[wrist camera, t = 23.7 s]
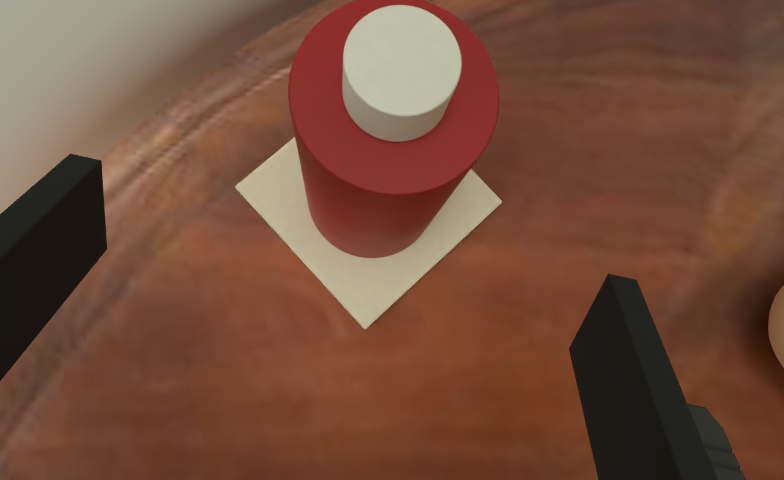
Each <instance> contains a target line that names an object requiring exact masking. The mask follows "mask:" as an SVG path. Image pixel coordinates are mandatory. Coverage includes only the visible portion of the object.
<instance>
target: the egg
mask: <svg viewBox="0 0 784 480" xmlns="http://www.w3.org/2000/svg"><path fill="white" fill-rule="evenodd" d="M768 334H769V339H770V342H771V345H772V348H773V351H774V353H775V355H776V356H777V358H778V360H779V361H780V363H781V365H782V367H783V368H784V285H783V286H782V287H781V289H780V290H779V292H778V293H777V294H776V296H775V298H774V301H773V303H772V306H771V309H770V312H769V324H768Z"/></svg>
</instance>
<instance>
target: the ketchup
mask: <svg viewBox="0 0 784 480" xmlns="http://www.w3.org/2000/svg"><path fill="white" fill-rule="evenodd" d="M288 99H289V106H290V113H291V118H292V123H293V128H294V134H295V139H296V144H297V149H298V155H299V160H300V165H301V170H302V175H303V181H304V186H305V191H306V196H307V202H308V207H309V211H310V214H311V217H312V219H313V222H314V224H315V226H316V227H317V229H318V230H319V232H320V233H321V234H322V235H323V237H324V238H325V239H326V240H327V241H328V242H329V243H331V244H332V245H333V246H335V247H336V248H338V249H340V250H341V251H343V252H345V253H348V254H350V255H353V256H358V257H363V258H381V257H387V256H390V255H394V254H396V253H398V252H401V251H402V250H404V249H406V248H407V247H409V246H410V245H411V244H413V243H414V242H415V241H416V240H417V239H418V238H419V237H420V236H421V234H422V233H423V232H424V230H425V229H426V228H427V226H428V225H429V224H430V222H431V221H432V220H433V218H434V217H435V216H436V214H437V213H438V212H439V210H440V209H441V208H442V206H443V205H444V204H445V202H446V201H447V200H448V198H449V197H450V196H451V194H452V193H453V192H454V190H455V189H456V188H457V186H458V185H459V184H460V182H461V181H462V180H463V178H464V177H465V176H466V174H467V173H468V172H469V170H470V169H471V168H472V166H473V165H474V164H475V162H476V161H477V160H478V158H479V157H480V155H481V154H482V153H483V151H484V150H485V148H486V147H487V145H488V143H489V141H490V139H491V137H492V134H493V131H494V129H495V126H496V122H497V117H498V111H499V87H498V82H497V77H496V73H495V70H494V67H493V64H492V62H491V59H490V57H489V55H488V53H487V51H486V49H485V48H484V46H483V45H482V43H481V42H480V40H479V39H478V38H477V37H476V35H475V34H474V33H473V32H472V31H471V30H470V29H469V28H468V27H467V26H466V25H465V24H464V23H463V22H462V21H461V20H459V19H458V18H457V17H455V16H454V15H452V14H451V13H450V12H448V11H446V10H444V9H442V8H440V7H439V6H436V5H434V4H431V3H429V2H426V1H423V0H357V1H354V2H351V3H348V4H346V5H344V6H342V7H340V8H338V9H336V10H335V11H333V12H332V13H330V14H329V15H327V16H326V17H325V18H323V19H322V20H321V21H320V22H319V23H318V24H317V25H316V26H315V27H314V28H313V29H312V30H311V31H310V33H309V34H308V35H307V36H306V38H305V39H304V41H303V42H302V44H301V46H300V47H299V49H298V51H297V54H296V56H295V58H294V61H293V64H292V68H291V71H290V77H289V84H288Z"/></svg>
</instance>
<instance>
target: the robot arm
mask: <svg viewBox="0 0 784 480" xmlns="http://www.w3.org/2000/svg"><path fill="white" fill-rule="evenodd" d="M106 250H107V242H106V226H105V211H104V195H103V180H102V164H101V161H100V160H96V159H91V158H87V157H82V156H78V155H73V154H69V155H68V156H67V157H66V158H65V159H64V160H62V161H61V162H60V163H59V164H58V165H57V166H56V167H55V168H53V169H52V170H51V171H50V172H49V173H47V175H45V176H44V177H43V178H42V179H41V180H39V181H38V182H37V183H36V184H35V185H34V186H32V187H31V188H30V189H29V190H28V191H27V192H26V193H24V194H23V195H22V196H21V197H20V198H19V199H17V200H16V201H15V202H14V203H13V204H12V205H11V206H9V207H8V208H7V209H6V210H5V211H4V212H2V213H1V214H0V381H1V379H2V378H3V377H4V376H5V374H6V373H7V372H8V371H9V370H10V368H11V367H12V366H13V365H14V363H15V362H16V361H17V360H18V358H19V357H20V356H21V355H22V353H23V352H24V351H25V350H26V349H27V347H28V346H29V345H30V344H31V342H32V341H33V340H34V339H35V337H36V336H37V335H38V334H39V332H40V331H41V330H42V329H43V328H44V326H45V325H46V324H47V323H48V321H49V320H50V319H51V318H52V316H53V315H54V314H55V313H56V311H57V310H58V309H59V308H60V306H61V305H62V304H63V303H64V302H65V300H66V299H67V298H68V297H69V295H70V294H71V293H72V292H73V290H74V289H75V288H76V287H77V285H78V284H79V283H80V282H81V281H82V279H83V278H84V277H85V276H86V274H87V273H88V272H89V271H90V269H91V268H92V267H93V266H94V264H95V263H96V262H97V261H98V260H99V258H100V257H101V256H102V255H103V253H104V252H105V251H106ZM569 351H570V355H571V360H572V364H573V369H574V373H575V377H576V382H577V386H578V391H579V395H580V400H581V404H582V408H583V413H584V417H585V422H586V426H587V430H588V435H589V439H590V444H591V448H592V453H593V457H594V461H595V466H596V470H597V475H598V479H599V480H746V479H745V477H744V474H743V472H742V471H740V465H739V463H738V461H737V459H736V457H735V454H733V453H732V448H731V446H730V443H729V441H728V439H727V437H726V434H725V432H724V430H723V428H722V427H721V426H720V424H719V423H718V422H717V421H716V420H715V418H714V417H713V416H712V415H711V414H710V412H709V411H708V410H707V409H706V408H705V407H700V406H695V405H691V404H687V402H686V400H685V397H684V395H683V392H682V390H681V388H680V385H679V383H678V380H677V378H676V375H675V373H674V370H673V368H672V366H671V363H670V361H669V358H668V356H667V353H666V351H665V348H664V346H663V344H662V341H661V339H660V336H659V334H658V331H657V329H656V326H655V324H654V322H653V319H652V317H651V314H650V312H649V309H648V307H647V304H646V302H645V300H644V297H643V295H642V292H641V290H640V287H639V285H638V282H637V280H634V279H630V278H625V277H621V276H616V275H612V274H608V275H607V277H606V279H605V281H604V283H603V285H602V287H601V289H600V291H599V292H598V294H597V296H596V298H595V300H594V302H593V304H592V306H591V308H590V310H589V311H588V313H587V315H586V317H585V319H584V321H583V323H582V325H581V327H580V329H579V330H578V332H577V334H576V336H575V338H574V340H573V342H572V344H571V346H570V348H569Z"/></svg>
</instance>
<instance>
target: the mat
mask: <svg viewBox="0 0 784 480" xmlns="http://www.w3.org/2000/svg"><path fill="white" fill-rule="evenodd" d="M235 188H236V189H237V190H238V191H239V192H240V194H241V195H242V196H243V197H244V198H245V199H246V200H247V201H248V202H249V203H250V205H251V206H252V207H253V208H254V209H255V210H256V211H257V212H258V213H259V214H260V216H261V217H262V218H263V219H264V220H265V221H266V222H267V223H268V224H269V225H270V226H271V228H272V229H273V230H274V231H275V232H276V233H277V234H278V235H279V236H280V237H281V239H282V240H283V241H284V242H285V243H286V244H287V245H288V246H289V247H290V248H291V250H292V251H293V252H294V253H295V254H296V255H297V256H298V257H299V258H300V259H301V261H302V262H303V263H304V264H305V265H306V266H307V267H308V268H309V269H310V270H311V272H312V273H313V274H314V275H315V276H316V277H317V278H318V279H319V280H320V281H321V282H322V284H323V285H324V286H325V287H326V288H327V289H328V290H329V291H330V292H331V293H332V295H333V296H334V297H335V298H336V299H337V300H338V301H339V302H340V303H341V304H342V306H343V307H344V308H345V309H346V310H347V311H348V312H349V313H350V314H351V315H352V317H353V318H354V319H355V320H356V321H357V322H358V323H359V324H360V325H361V326H362V328H363V329H364V330H365V329H367V328H368V327H369V326H370V325H371V324H372V323H373V322H374V321H375V320H376V319H377V318H379V317H380V316H381V315H382V314H383V313H384V312H385V311H386V310H387V309H388V308H389V307H390V306H391V305H393V304H394V303H395V302H396V301H397V300H398V299H399V298H400V297H401V296H402V295H403V294H404V293H405V292H407V291H408V290H409V289H410V288H411V287H412V286H413V285H414V284H415V283H416V282H417V281H418V280H419V279H420V278H422V277H423V276H424V275H425V274H426V273H427V272H428V271H429V270H430V269H431V268H432V267H433V266H434V265H436V264H437V263H438V262H439V261H440V260H441V259H442V258H443V257H444V256H445V255H446V254H447V253H448V252H450V251H451V250H452V249H453V248H454V247H455V246H456V245H457V244H458V243H459V242H460V241H461V240H462V239H463V238H465V237H466V236H467V235H468V234H469V233H470V232H471V231H472V230H473V229H474V228H475V227H476V226H477V225H479V224H480V223H481V222H482V221H483V220H484V219H485V218H486V217H487V216H488V215H489V214H490V213H491V212H493V211H494V210H495V209H496V208H497V207H498V206H499V205H500V204H501V203H502V201H501V200H500V199H499V198H498V197H497V196H496V194H495V193H494V192H493V191H492V190H491V189H490V188H489V187H488V186H487V185H486V184H485V183H484V182H483V181H482V180H481V179H480V178H479V177H478V176H477V174H476V173H475V172H474V171H473V170H472V169H470V170H469V172H468V173H467V174H466V176H465V177H464V178H463V180H462V181H461V182H460V184H459V185H458V186H457V188H456V189H455V190H454V192H453V193H452V194H451V196H450V197H449V198H448V200H447V201H446V202H445V204H444V205H443V206H442V208H441V209H440V210H439V212H438V213H437V214H436V216H435V217H434V218H433V220H432V221H431V222H430V224H429V225H428V226H427V228H426V229H425V230H424V232H423V233H422V234H421V236H420V237H419V238H418V239H417V240H416V241H415V242H414V243H413V244H411V245H410V246H409V247H407V248H406V249H404V250H402V251H401V252H398V253H396V254H394V255H390V256H387V257H381V258H363V257H358V256H353V255H350V254H348V253H345V252H343V251H341V250H340V249H338V248H336V247H335V246H333V245H332V244H331V243H329V242H328V241H327V240H326V239H325V238H324V237H323V235H322V234H321V233H320V232H319V230H318V229H317V227H316V226H315V224H314V222H313V219H312V217H311V214H310V211H309V207H308V202H307V196H306V191H305V186H304V181H303V175H302V170H301V165H300V160H299V155H298V149H297V144H296V139H295V137H294V138H293V139H292V140H290V141H289V142H288V143H287V144H286V145H284V146H283V147H282V148H281V149H280V150H278V151H277V152H276V153H275V154H273V155H272V156H271V157H270V158H269V159H267V160H266V161H265V162H264V163H263V164H261V165H260V166H259V167H258V168H257V169H255V170H254V171H253V172H252V173H251V174H249V175H248V176H247V177H246V178H245V179H243V180H242V181H241V182H240V183H238V184H237V185H236V186H235Z"/></svg>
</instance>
